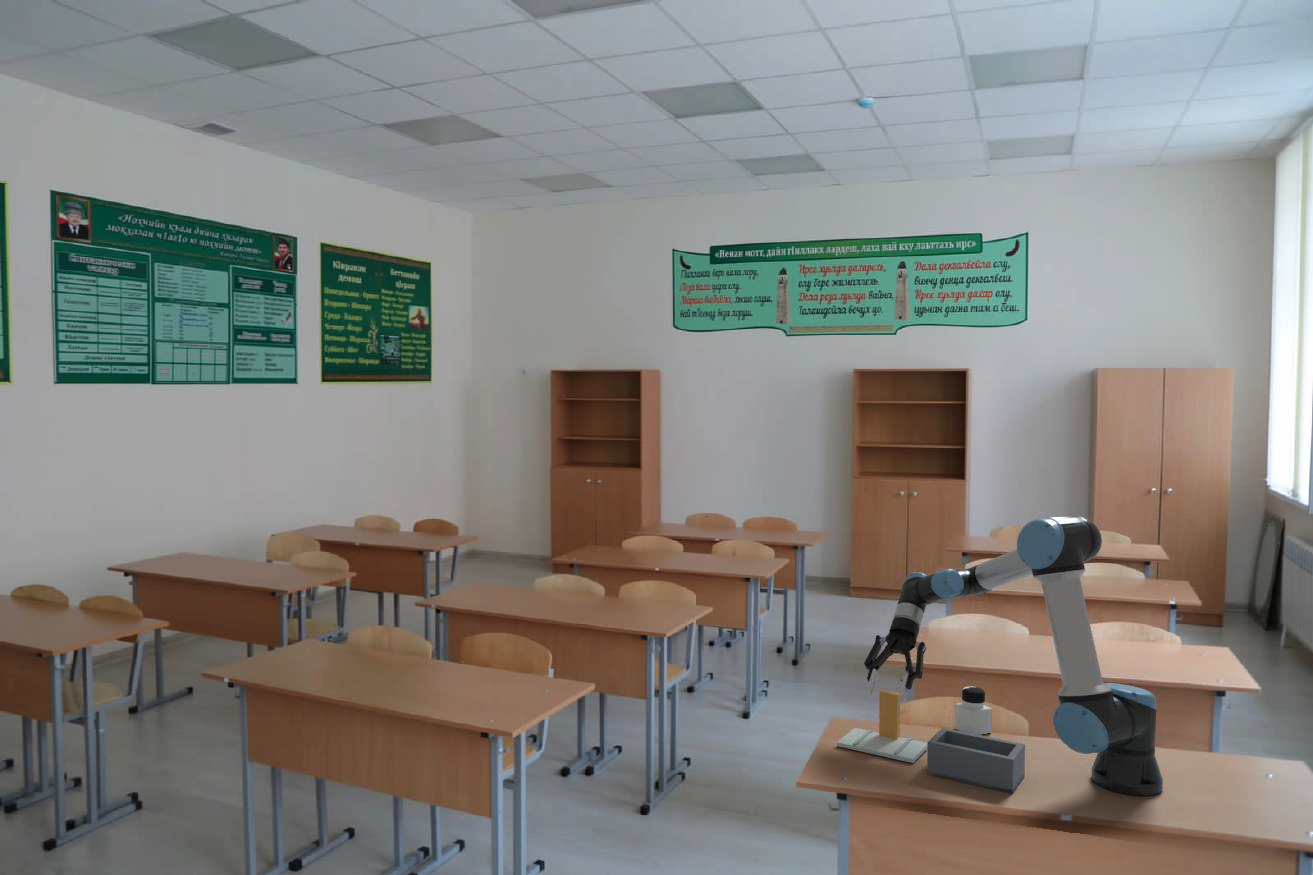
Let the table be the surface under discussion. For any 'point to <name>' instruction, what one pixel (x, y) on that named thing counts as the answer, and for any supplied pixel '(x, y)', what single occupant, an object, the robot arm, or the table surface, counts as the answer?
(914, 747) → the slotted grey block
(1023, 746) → the tub
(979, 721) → the medicine bottle
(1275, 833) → the table surface
